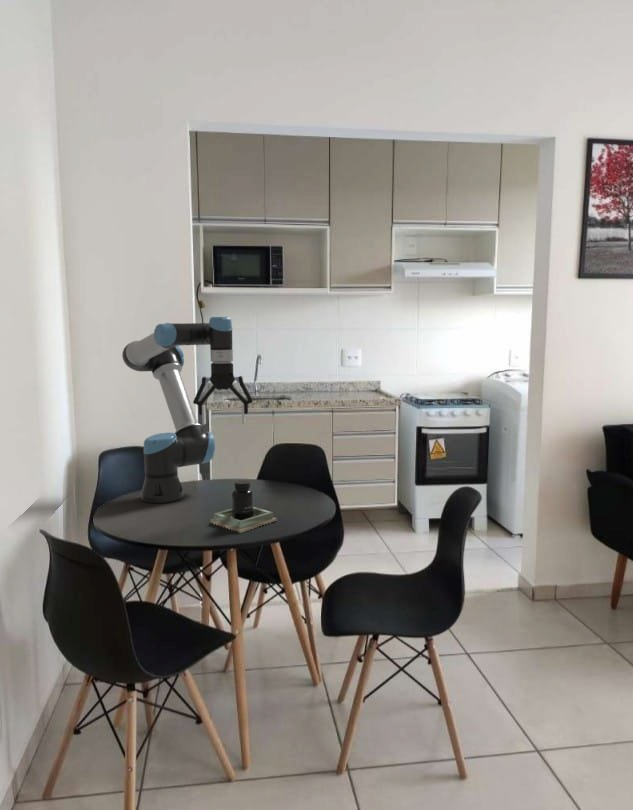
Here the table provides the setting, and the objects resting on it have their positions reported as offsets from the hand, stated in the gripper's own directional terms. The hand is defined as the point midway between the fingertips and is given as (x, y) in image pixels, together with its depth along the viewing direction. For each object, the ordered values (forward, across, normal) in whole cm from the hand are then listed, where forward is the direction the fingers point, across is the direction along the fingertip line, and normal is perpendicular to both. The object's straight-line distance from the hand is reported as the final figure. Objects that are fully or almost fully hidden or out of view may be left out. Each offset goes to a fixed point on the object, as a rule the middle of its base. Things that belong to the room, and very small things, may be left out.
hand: (224, 423), depth 214 cm
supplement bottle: (+28, +8, -20) cm, 35 cm away
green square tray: (+29, +8, -20) cm, 36 cm away
